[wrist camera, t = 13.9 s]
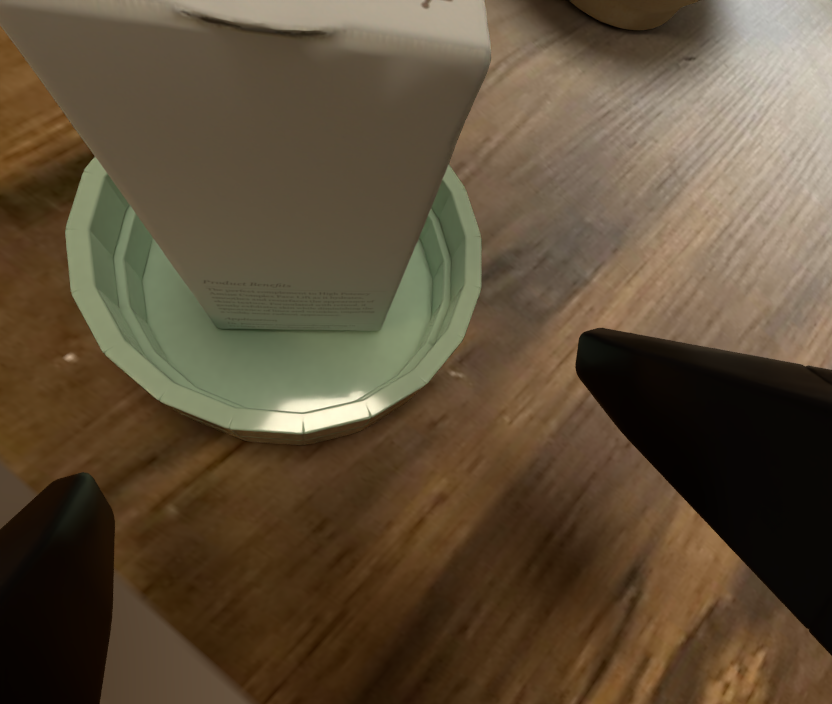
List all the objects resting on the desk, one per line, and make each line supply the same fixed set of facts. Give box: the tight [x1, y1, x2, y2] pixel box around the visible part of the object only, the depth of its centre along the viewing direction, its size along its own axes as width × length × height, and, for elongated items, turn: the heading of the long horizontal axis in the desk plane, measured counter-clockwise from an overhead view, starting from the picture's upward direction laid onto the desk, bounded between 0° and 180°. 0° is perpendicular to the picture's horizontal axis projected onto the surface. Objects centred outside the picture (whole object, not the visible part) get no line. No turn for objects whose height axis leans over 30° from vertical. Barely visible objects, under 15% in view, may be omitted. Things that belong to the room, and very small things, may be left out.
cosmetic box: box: [0, 0, 491, 331], centre depth 11 cm, size 6×4×12 cm
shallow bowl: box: [65, 157, 482, 445], centre depth 16 cm, size 12×12×4 cm
